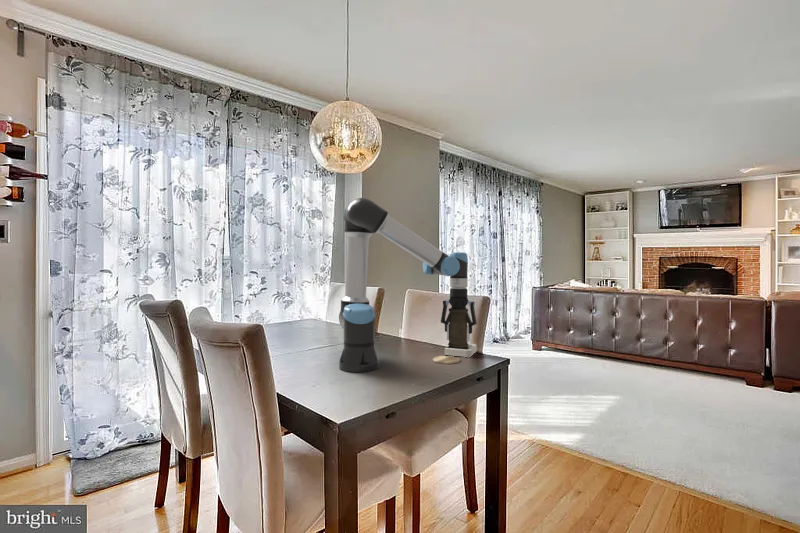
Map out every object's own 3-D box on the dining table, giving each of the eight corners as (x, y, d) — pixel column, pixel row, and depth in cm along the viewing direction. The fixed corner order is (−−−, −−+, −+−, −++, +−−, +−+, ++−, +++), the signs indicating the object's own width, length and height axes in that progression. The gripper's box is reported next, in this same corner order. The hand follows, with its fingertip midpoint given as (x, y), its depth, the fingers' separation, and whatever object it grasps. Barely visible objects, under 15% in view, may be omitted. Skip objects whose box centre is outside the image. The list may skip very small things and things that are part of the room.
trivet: (429, 362, 166) (429, 361, 166) (437, 356, 177) (437, 355, 177) (456, 365, 162) (456, 363, 162) (462, 358, 173) (462, 357, 173)
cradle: (444, 355, 178) (444, 348, 178) (452, 348, 191) (452, 342, 191) (470, 357, 174) (470, 350, 174) (477, 350, 187) (477, 344, 187)
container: (470, 352, 178) (470, 310, 178) (448, 352, 178) (449, 309, 178) (467, 347, 187) (467, 307, 187) (446, 347, 187) (447, 307, 187)
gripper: (433, 287, 183) (432, 339, 183) (481, 289, 175) (480, 343, 175) (438, 286, 190) (437, 336, 190) (484, 288, 182) (484, 340, 182)
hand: (458, 340), depth 183 cm, fingers closed on container, 8 cm apart
